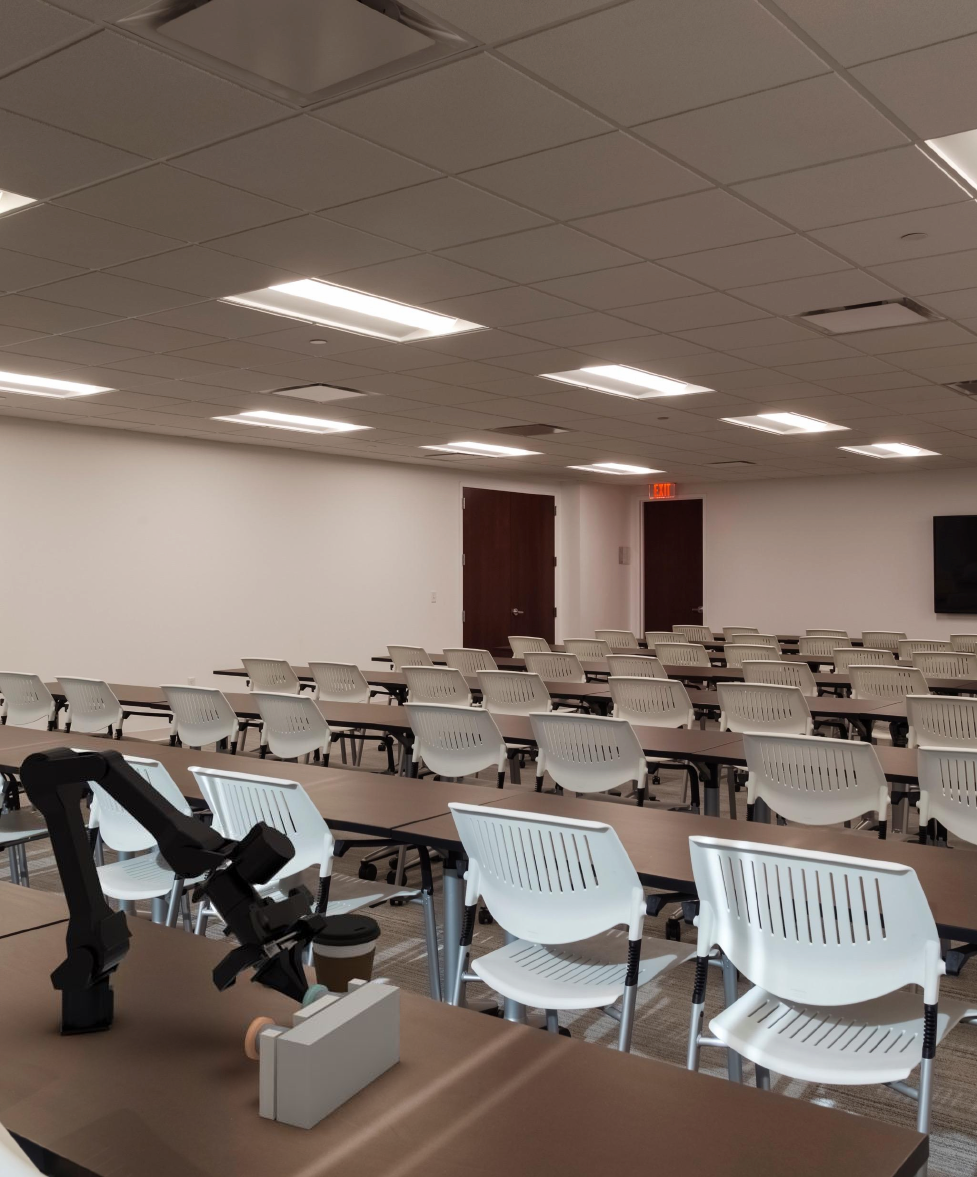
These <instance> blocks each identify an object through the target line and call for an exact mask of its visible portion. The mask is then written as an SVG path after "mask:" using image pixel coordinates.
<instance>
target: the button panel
mask: <svg viewBox="0 0 977 1177" xmlns="http://www.w3.org/2000/svg"><path fill="white" fill-rule="evenodd" d="M400 991H401V990H400V986H399V987H398V986H394V985H389V984H385V983H380V982H374V981H370V982H369V983H367V981H365V980H360V979H353V980H351V981H350V982H348V996H346V997H344V998H343V999H341V1000H340V997H336V996H331V995H326V996H324V997H322V998H321V999H319V1000H317V1001H315V1002H314V1003H312V1004H310V1005H309V1006H307V1007H305V1008H303V1009H302V1008H301V1009H300V1010H298V1011H296V1012H295V1013H293V1015H292V1028H290V1029H291V1030H290V1031H288V1032H286V1033H285V1034H283V1035H282V1032H280V1031H276V1030H271V1029H267V1030H266V1031H264V1032H262V1033H261V1034H260V1060H259V1117H262V1118H265V1119H269V1120H273V1121H274V1120H275V1119H276V1122H280V1123H283V1124H286V1125H290V1126H294V1127H298V1128H301V1129H304V1130H310V1129H311V1128H313V1127H315V1126H316V1125H317V1124H318V1123H319V1122H321V1121H322V1120H323V1119H325V1118H326V1117H328V1115H330V1114H332V1113H333V1112H334V1111H335V1110H337V1109H338V1108H339V1107H340V1106H342V1105H343V1104H344V1103H346V1102H347V1101H348V1100H350V1099H352V1097H354V1096H355V1095H356V1094H358V1093H360V1091H361V1090H363V1089H364V1088H365V1087H367V1086H369V1084H371V1083H372V1082H373V1081H375V1080H376V1079H377V1078H379V1077H380V1076H381V1075H383V1074H384V1073H385V1072H386V1071H388V1070H389V1069H391V1068H392V1067H393V1066H395V1064H397V1063H398V1062H400V1013H401V1011H400V1002H401V1001H400V1000H401V999H400V998H401V997H400V996H401V995H400V993H401V992H400Z"/></svg>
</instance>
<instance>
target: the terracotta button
mask: <svg viewBox="0 0 977 1177" xmlns="http://www.w3.org/2000/svg"><path fill="white" fill-rule="evenodd" d="M267 1029H271V1030H276V1031H280V1032H282V1035H283V1034H285V1033H286V1032H288V1031H290V1030H291V1029H292V1028H290V1027H286V1026H281V1025H276V1023H275V1021H274V1020H273V1019H272V1018H270V1017H265V1016H259V1017H257V1018H255V1019H254V1020H253V1021H252V1022H251V1024H250V1026H249V1027H248V1029H247V1032H246V1034H245V1039H244V1050H245V1054H246V1056H247V1057H248V1058H249V1059H252V1060H255V1061H260V1034H261V1033H262V1032H264V1031H266V1030H267Z"/></svg>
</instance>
